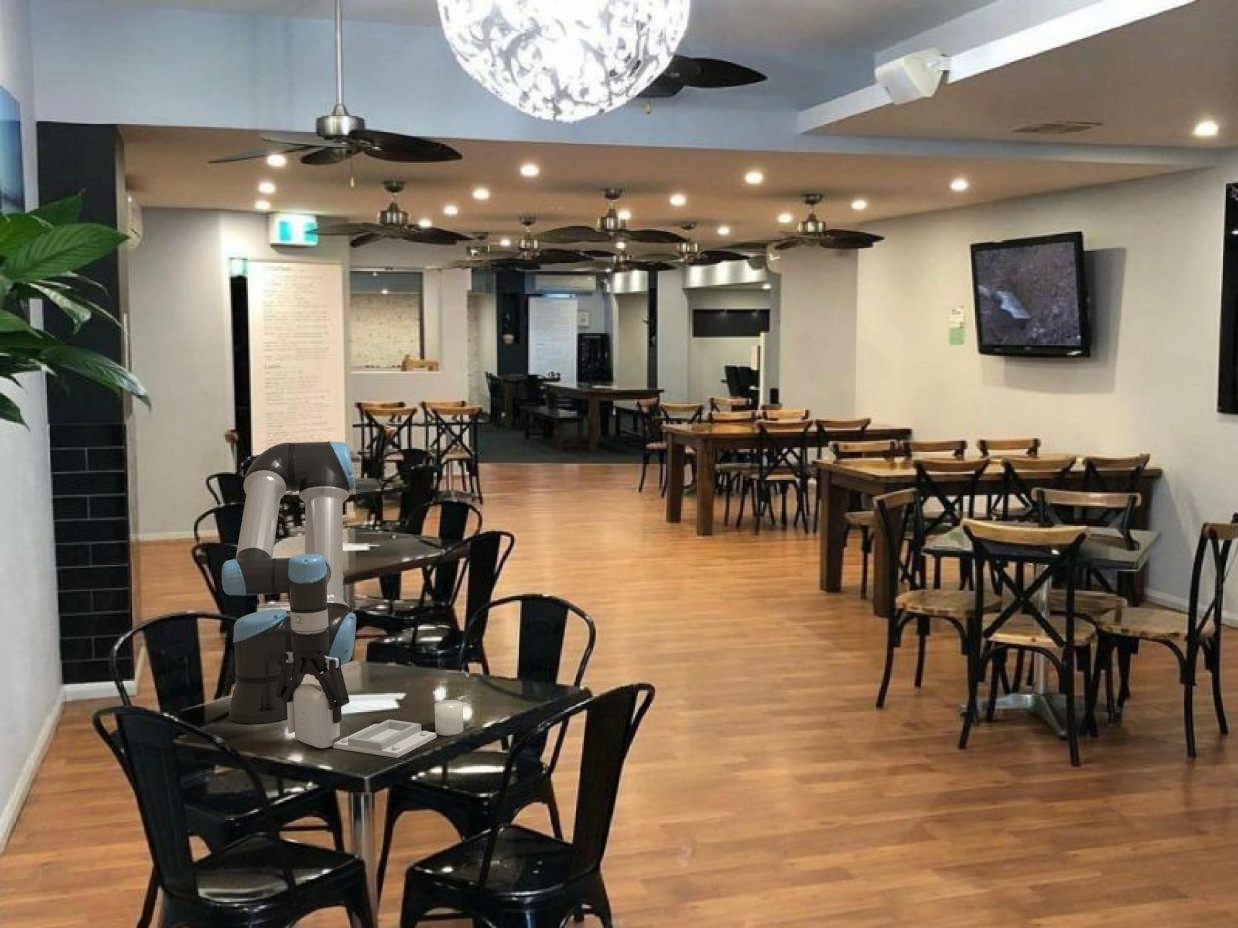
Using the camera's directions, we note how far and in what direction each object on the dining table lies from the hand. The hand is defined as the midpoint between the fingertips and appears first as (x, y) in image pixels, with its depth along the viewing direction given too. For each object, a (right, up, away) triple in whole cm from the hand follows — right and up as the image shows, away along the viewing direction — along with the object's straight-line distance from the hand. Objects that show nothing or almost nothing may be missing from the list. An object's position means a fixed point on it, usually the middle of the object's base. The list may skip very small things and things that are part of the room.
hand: (313, 734), depth 249 cm
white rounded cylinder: (+27, -1, +8) cm, 28 cm away
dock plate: (+15, -2, +1) cm, 15 cm away
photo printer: (0, -2, 0) cm, 2 cm away
